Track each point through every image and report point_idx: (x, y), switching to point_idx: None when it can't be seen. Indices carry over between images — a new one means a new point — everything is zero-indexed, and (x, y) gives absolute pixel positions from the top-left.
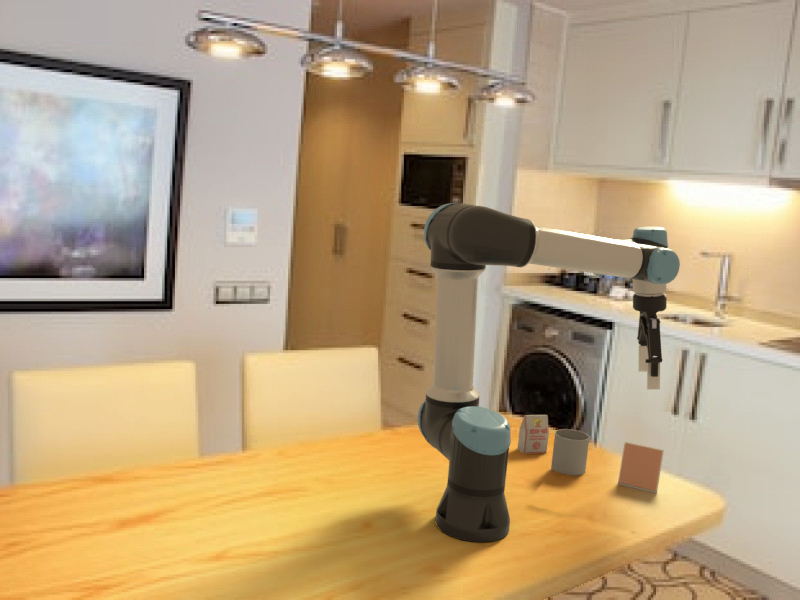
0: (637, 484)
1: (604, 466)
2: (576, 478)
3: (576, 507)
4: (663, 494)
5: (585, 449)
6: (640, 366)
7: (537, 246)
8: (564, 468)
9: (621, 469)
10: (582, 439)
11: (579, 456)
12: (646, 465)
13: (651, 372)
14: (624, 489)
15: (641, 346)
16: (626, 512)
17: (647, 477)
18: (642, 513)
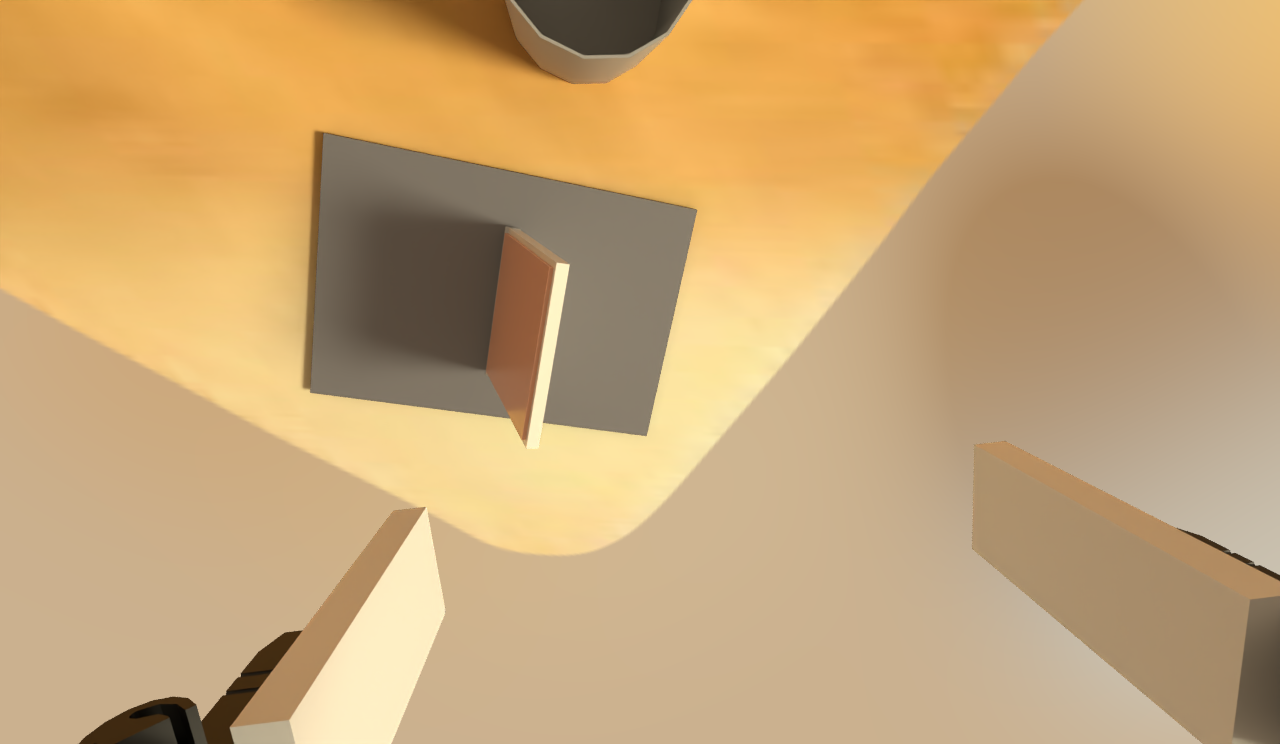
0: (497, 305)
1: (739, 176)
2: None
3: (178, 41)
4: None
5: (546, 49)
6: (1010, 479)
7: None
8: None
9: (516, 243)
10: (666, 28)
11: (516, 23)
12: (510, 354)
13: (258, 669)
14: None
15: (1244, 633)
16: (262, 255)
17: (498, 349)
18: (291, 314)
